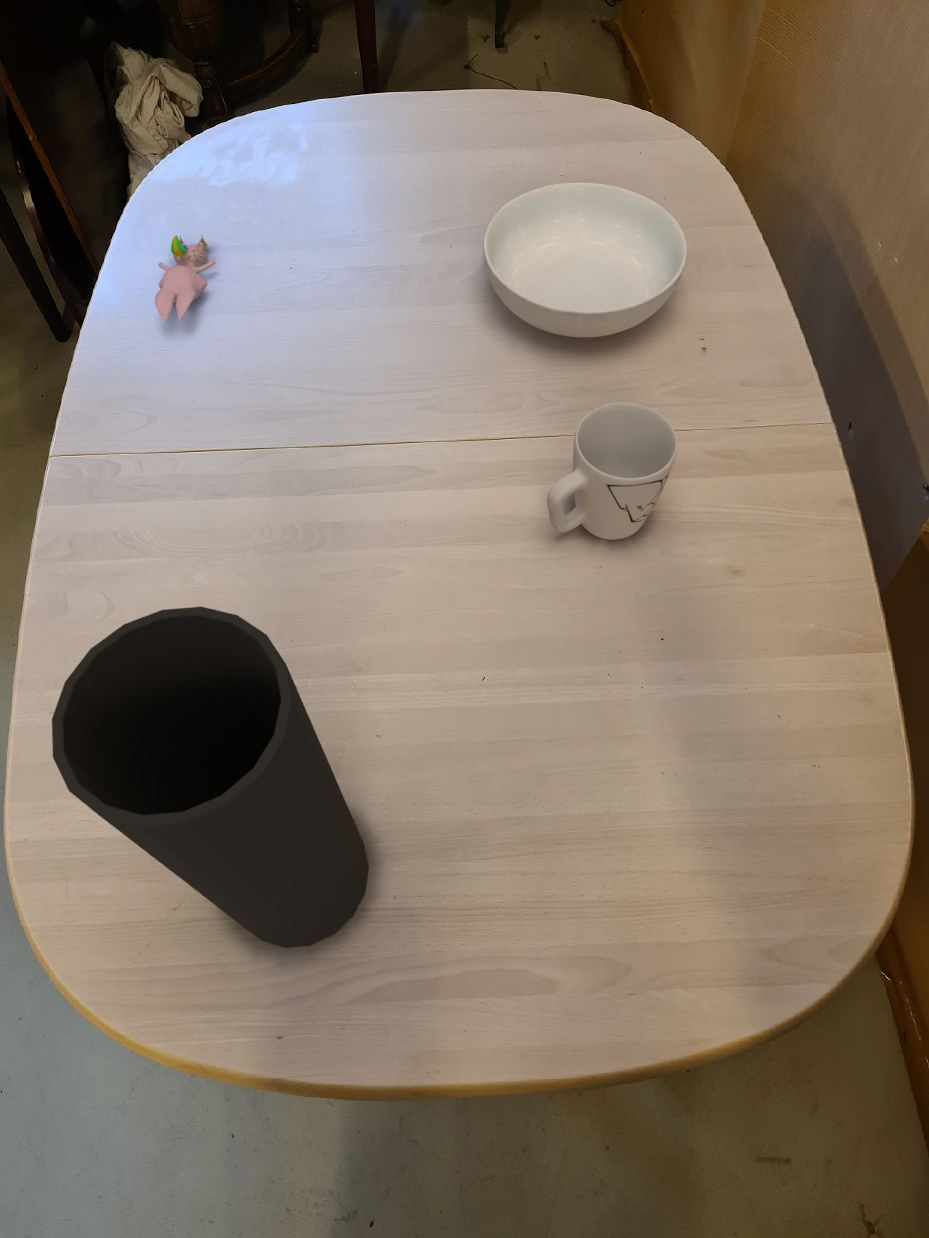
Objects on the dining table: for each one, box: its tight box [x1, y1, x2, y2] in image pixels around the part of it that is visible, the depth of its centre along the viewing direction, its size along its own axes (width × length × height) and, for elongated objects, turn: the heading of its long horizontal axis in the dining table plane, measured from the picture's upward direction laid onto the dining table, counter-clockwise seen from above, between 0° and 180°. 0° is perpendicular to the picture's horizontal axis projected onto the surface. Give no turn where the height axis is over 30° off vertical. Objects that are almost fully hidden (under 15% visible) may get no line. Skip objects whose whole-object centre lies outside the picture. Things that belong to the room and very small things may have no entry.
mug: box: [546, 401, 679, 541], centre depth 74 cm, size 11×8×10 cm
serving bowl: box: [482, 181, 688, 338], centre depth 90 cm, size 21×21×7 cm
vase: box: [51, 606, 370, 948], centre depth 50 cm, size 10×10×30 cm
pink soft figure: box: [154, 234, 216, 322], centre depth 92 cm, size 6×6×15 cm
